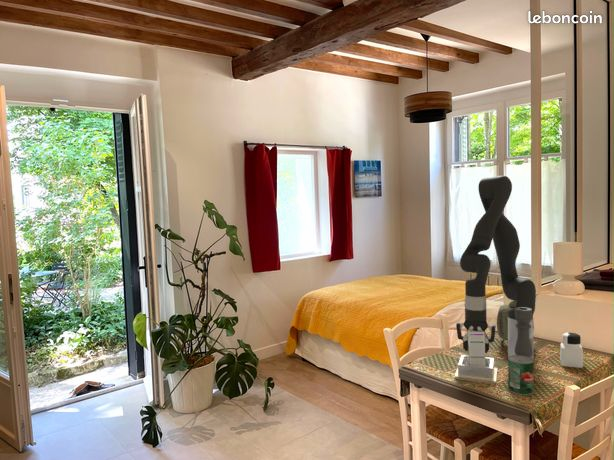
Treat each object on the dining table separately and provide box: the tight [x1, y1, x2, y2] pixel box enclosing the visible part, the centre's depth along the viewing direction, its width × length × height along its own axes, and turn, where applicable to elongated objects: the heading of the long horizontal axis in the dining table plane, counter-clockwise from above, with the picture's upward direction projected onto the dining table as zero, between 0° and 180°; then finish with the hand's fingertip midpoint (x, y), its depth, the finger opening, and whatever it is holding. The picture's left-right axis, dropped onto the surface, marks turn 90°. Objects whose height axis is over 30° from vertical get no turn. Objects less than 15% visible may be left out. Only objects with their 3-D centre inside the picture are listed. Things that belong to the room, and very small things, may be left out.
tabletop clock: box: [496, 295, 535, 345], centre depth 200 cm, size 14×9×25 cm, turn 65°
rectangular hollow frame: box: [454, 354, 499, 385], centre depth 172 cm, size 14×14×5 cm
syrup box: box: [466, 330, 486, 367], centre depth 171 cm, size 6×6×14 cm
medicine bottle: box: [559, 332, 584, 369], centre depth 179 cm, size 7×7×12 cm
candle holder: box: [514, 307, 534, 357], centre depth 168 cm, size 6×6×25 cm
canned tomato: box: [507, 355, 535, 396], centre depth 156 cm, size 8×8×11 cm
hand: (476, 351), depth 172 cm, fingers closed on syrup box, 6 cm apart
